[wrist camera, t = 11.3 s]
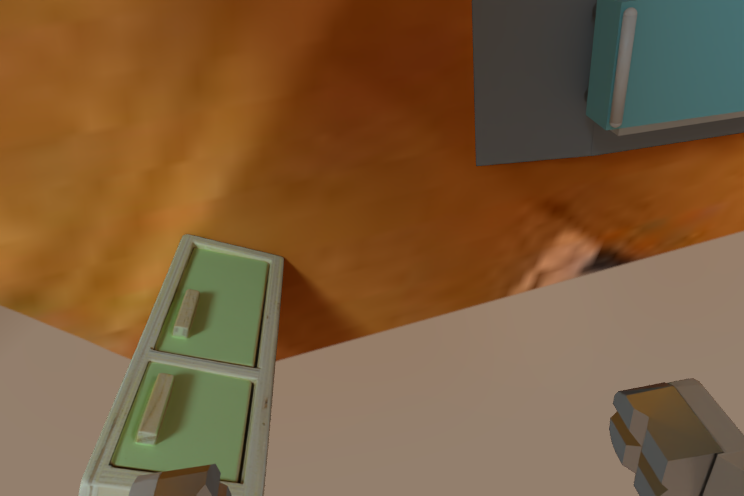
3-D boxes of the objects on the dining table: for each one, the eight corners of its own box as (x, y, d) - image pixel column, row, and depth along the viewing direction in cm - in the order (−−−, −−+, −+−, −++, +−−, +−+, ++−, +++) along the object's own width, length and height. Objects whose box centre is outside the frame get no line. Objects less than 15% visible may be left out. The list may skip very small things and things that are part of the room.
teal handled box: (588, -8, 32) (627, 4, 28) (752, -31, 32) (815, -23, 28) (577, 108, 36) (610, 134, 32) (723, 88, 36) (776, 110, 32)
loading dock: (465, -91, 31) (484, -92, 27) (818, -145, 31) (883, -153, 27) (472, 160, 40) (487, 185, 36) (749, 118, 40) (791, 138, 36)
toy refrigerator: (290, 248, 41) (267, 498, 23) (267, 318, 45) (232, 583, 27) (185, 222, 39) (74, 473, 22) (170, 298, 43) (64, 567, 25)
